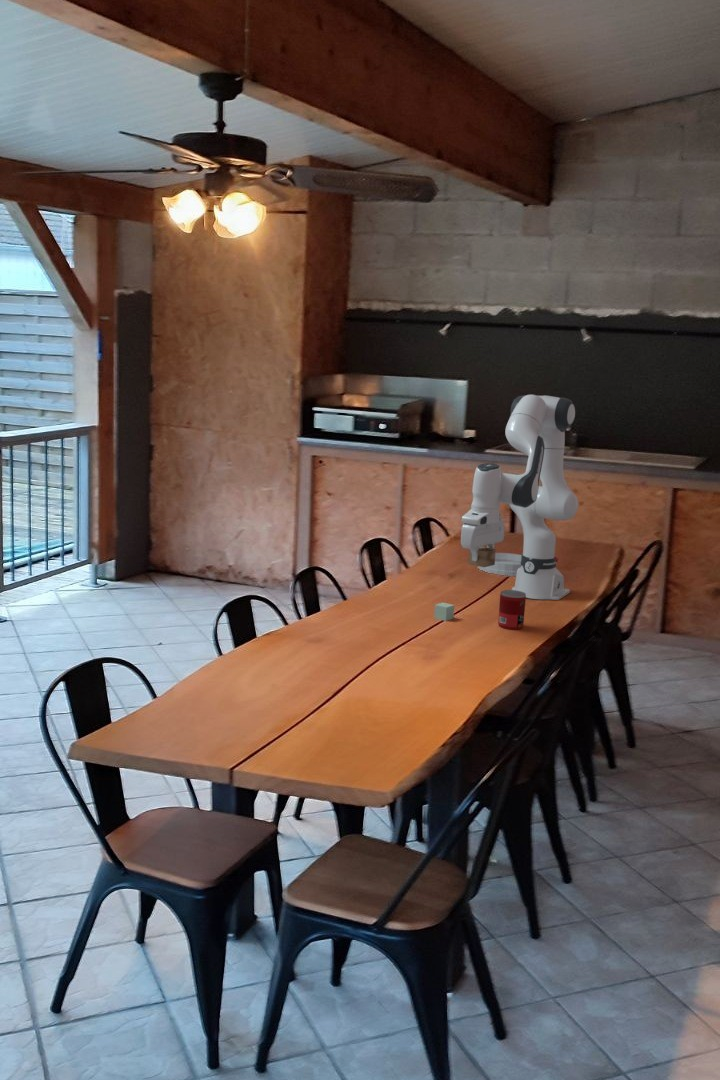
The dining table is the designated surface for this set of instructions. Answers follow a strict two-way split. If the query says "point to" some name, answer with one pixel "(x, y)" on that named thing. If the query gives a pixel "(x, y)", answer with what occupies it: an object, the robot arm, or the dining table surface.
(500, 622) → the canned food
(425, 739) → the dining table surface
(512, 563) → the dish
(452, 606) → the sage cube
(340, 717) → the dining table surface
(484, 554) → the walnut block
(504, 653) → the dining table surface
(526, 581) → the robot arm
